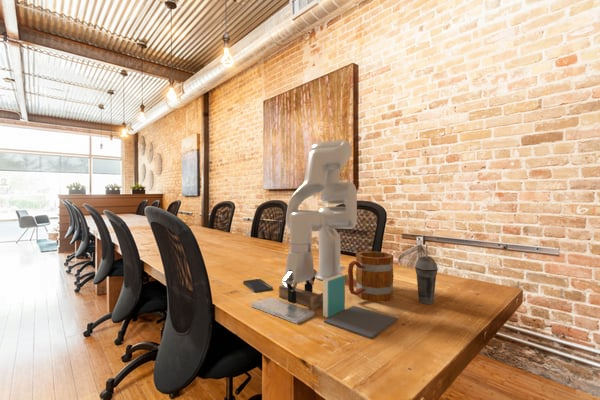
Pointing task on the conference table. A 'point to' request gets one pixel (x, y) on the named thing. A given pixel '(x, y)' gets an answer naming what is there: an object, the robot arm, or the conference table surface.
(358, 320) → the mat
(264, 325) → the conference table surface
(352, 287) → the mug
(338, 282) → the tile
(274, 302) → the tool rest
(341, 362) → the conference table surface
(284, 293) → the brown t-shaped post
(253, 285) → the phone
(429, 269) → the beverage cup
